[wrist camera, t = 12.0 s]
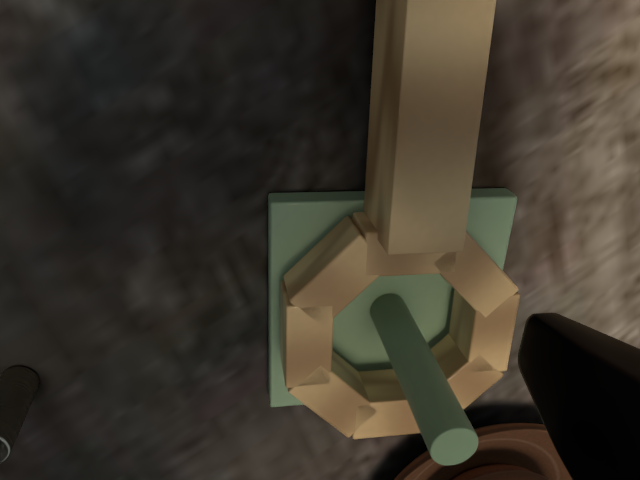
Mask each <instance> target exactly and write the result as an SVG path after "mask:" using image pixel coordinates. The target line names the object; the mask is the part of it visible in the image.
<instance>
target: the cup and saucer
mask: <svg viewBox="0 0 640 480" xmlns="http://www.w3.org/2000/svg"><path fill="white" fill-rule="evenodd" d="M474 430H475V432H476V434H477V436H478V447H477V449H476V451H475V453H474V454H473V455H472V456H471V457H470V458H469V459H467V460H466V461H464V462H462V463H459V464H456V465H449V466H447V465H441V464H438V463H437V462H435V461H434V460H433V459H432V458H431V456H430V453H429V451H428V450H427V451H425V452H424V453H422V454H421V455H420V456H418V457H417V458H416V459H414V460H413V461H412V462H411V463H410V464H408V465H407V466H406V467H405V468H404V469H403V470H402V471H401V472H400V473H399V474H398V475H397V477H396V478H395V479H394V480H572V478H571V476H570V475H569V473H568V471H567V469H566V468H565V466H564V464H563V462H562V460H561V459H560V457H559V455H558V453H557V451H556V449H555V447H554V445H553V443H552V441H551V439H550V437H549V434H548V432H547V430H546V428H545V425H543V424H535V423H504V424H496V425H489V426H484V427H480V428H476V429H474Z"/></svg>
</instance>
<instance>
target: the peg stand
mask: <svg viewBox="0 0 640 480" xmlns="http://www.w3.org/2000/svg"><path fill="white" fill-rule="evenodd" d="M364 199H365V191H343V192H296V193H270V194H269V195H268V392H269V400H270V406H271V407H280V406H292V405H304V404H303V403H302V402H301V401H299V400H298V399H297V398H295V397H294V396H293V395H291V394H290V393H289V392H288V388H286V386H285V381H284V375H283V369H282V363H281V357H280V282H281V281H284V275H285V274H286V273H287V272H288V271H289V270H290V269H291V268H292V267H293V266H294V265H295V264H296V263H297V262H298V261H300V260H301V259H302V258H303V257H304V256H305V255H306V254H307V253H308V252H309V251H310V250H311V249H312V248H313V247H314V246H315V245H316V244H317V243H318V242H320V241H321V240H322V239H323V238H324V237H325V236H326V235H327V234H328V233H329V232H330V231H331V230H332V229H333V228H334V227H335V226H336V225H337V224H339V223H340V222H341V221H342V220H343V219H344V218H345V217H346V216H350V217H351V218H352V216H353V213H355V212H364ZM516 203H517V196H516V195H514V194H513V193H512V192H510V191H509V190H508V189H506V188H483V189H471V196H470V203H469V211H468V219H467V226H466V231H467V232H468V233H469V234H470V235H471V237H472V238H473V239H474V240H475V241H476V242H477V243H478V244H479V245H480V246H481V248H482V249H483V250H484V251H485V252H486V253H487V254H488V255H489V256H490V257H491V259H492V260H493V261H494V262H495V263H496V264H497V265H498V266H499V267H500V268H501V270H502V271H503V267H504V262H505V257H506V252H507V247H508V242H509V237H510V233H511V228H512V223H513V218H514V213H515V208H516ZM453 297H454V288H453V287H452V286H451V285H450V284H449V283H448V282H447V281H446V280H445V279H444V278H443V277H442V276H441V275H440V274H420V275H398V276H379V277H378V278H377V279H376V280H375V281H373V282H372V283H371V284H370V285H369V286H368V287H367V288H366V289H365V290H364V291H363V292H361V293H360V294H359V295H358V296H357V297H356V298H355V299H354V300H353V301H352V302H351V303H349V304H348V305H347V306H346V307H345V308H344V309H343V310H342V311H341V312H340V313H339V314H337V315H336V316H335V317H334V321H333V345H332V350H333V351H334V352H335V353H336V354H338V355H339V356H340V357H341V358H342V359H344V360H345V361H346V362H347V363H348V364H350V365H351V366H352V367H353V368H354V369H356V370H357V371H358V372H359V371H372V370H386V369H394V372H395V374H396V376H397V379H398V381H399V383H400V386H401V388H402V390H403V393H404V395H405V397H406V400H407V402H408V404H409V407H410V409H411V411H412V414H413V416H414V418H415V421H416V423H417V425H418V428H419V430H420V432H421V435H422V437H423V439H424V442H425V444H426V446H427V449H428V451H429V453H430V456H431V458H432V459H433V460H434V461H435V462H437V463H438V464H441V465H447V466H449V465H456V464H459V463H462V462H464V461H466V460H467V459H469V458H470V457H471V456H472V455H473V454H474V453H475V451H476V449H477V447H478V436H477V434H476V432H475V430H474V428H473V427H472V425H471V423H470V421H469V419H468V417H467V416H466V414H465V412H464V410H463V408H462V406H461V405H460V403H459V401H458V399H457V397H456V395H455V394H454V392H453V390H452V388H451V386H450V384H449V383H448V381H447V379H446V377H445V375H444V373H443V372H442V370H441V368H440V366H439V364H438V362H437V360H436V359H435V357H434V355H433V353H432V351H431V348H433V347H434V346H435V345H436V344H437V343H438V342H439V341H441V340H442V339H443V338H444V337H445V336H446V335H447V334H449V328H450V320H451V313H452V305H453Z"/></svg>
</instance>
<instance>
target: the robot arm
mask: <svg viewBox="0 0 640 480" xmlns="http://www.w3.org/2000/svg"><path fill="white" fill-rule="evenodd" d="M518 365H519V369H520V372H521V374H522V376H523V378H524V381H525V383H526V385H527V387H528V390H529V392H530V394H531V396H532V399H533V401H534V403H535V405H536V408H537V410H538V412H539V414H540V417H541V419H542V421H543V423H544V425H545V428H546V430H547V432H548V434H549V437H550V439H551V441H552V443H553V445H554V447H555V449H556V451H557V453H558V455H559V457H560V459H561V460H562V462H563V464H564V466H565V468H566V469H567V471H568V473H569V475H570V476H571V478H572V480H640V349H638V348H636V347H634V346H631V345H629V344H627V343H624V342H622V341H620V340H617V339H615V338H613V337H610V336H608V335H606V334H603V333H601V332H599V331H597V330H594V329H592V328H590V327H587V326H585V325H583V324H580V323H578V322H576V321H573V320H571V319H569V318H566V317H564V316H562V315H559V314H557V313H538V314H532V315H531V316H529V317H528V319H527V321H526V324H525V328H524V333H523V337H522V341H521V345H520V349H519V353H518Z"/></svg>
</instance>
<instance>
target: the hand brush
mask: <svg viewBox="0 0 640 480" xmlns="http://www.w3.org/2000/svg"><path fill="white" fill-rule="evenodd" d="M495 6H496V0H376V13H375V30H374V47H373V64H372V81H371V97H370V114H369V131H368V148H367V165H366V182H365V199H364V212H355V213H353V216H352V218H351V217H350V216H346V217H345V218H344V219H343V220H342V221H341V222H340V223H339V224H337V225H336V226H335V227H334V228H333V229H332V230H331V231H330V232H329V233H328V234H327V235H326V236H325V237H324V238H323V239H322V240H321V241H320V242H318V243H317V244H316V245H315V246H314V247H313V248H312V249H311V250H310V251H309V252H308V253H307V254H306V255H305V256H304V257H303V258H302V259H301V260H300V261H298V262H297V263H296V264H295V265H294V266H293V267H292V268H291V269H290V270H289V271H288V272H287V273H286V274H285V275H284V281H281V282H280V357H281V363H282V369H283V375H284V381H285V386H286V388H288V392H289V393H290V394H291V395H293V396H294V397H295V398H297V399H298V400H299V401H301V402H302V403H303V404H305V405H306V406H307V407H308V408H310V409H311V410H312V411H314V412H315V413H316V414H318V415H319V416H320V417H322V418H323V419H324V420H326V421H327V422H328V423H330V424H331V425H332V426H333V427H335V428H336V429H337V430H339V431H340V432H341V433H343V434H344V435H345V436H347V437H350V436H351V435H352V437H353V439H361V438H372V437H383V436H393V435H404V434H415V433H421V432H420V430H419V428H418V425H417V423H416V421H415V418H414V416H413V414H412V411H411V409H410V407H409V404H408V402H407V400H406V397H405V395H404V393H403V390H402V388H401V386H400V383H399V381H398V379H397V376H396V374H395V372H394V369H386V370H372V371H359V372H358V371H357V370H356V369H354V368H353V367H352V366H351V365H350V364H348V363H347V362H346V361H345V360H344V359H342V358H341V357H340V356H339V355H338V354H336V353H335V352H334V351H333V350H332V345H333V321H334V317H335V316H336V315H337V314H339V313H340V312H341V311H342V310H343V309H344V308H345V307H346V306H347V305H348V304H349V303H351V302H352V301H353V300H354V299H355V298H356V297H357V296H358V295H359V294H360V293H361V292H363V291H364V290H365V289H366V288H367V287H368V286H369V285H370V284H371V283H372V282H373V281H375V280H376V279H377V278H378V277H379V276H398V275H420V274H440V275H441V276H442V277H443V278H444V279H445V280H446V281H447V282H448V283H449V284H450V285H451V286H452V287H453V288H454V297H453V305H452V313H451V320H450V328H449V334H447V335H446V336H445V337H444V338H443V339H442V340H441V341H439V342H438V343H437V344H436V345H435V346H434V347H433V348H431V351H432V353H433V355H434V357H435V359H436V360H437V362H438V364H439V366H440V368H441V370H442V372H443V373H444V375H445V377H446V379H447V381H448V383H449V384H450V386H451V388H452V390H453V392H454V394H455V395H456V397H457V399H458V401H459V403H460V405H461V406H462V408H463V410H464V409H465V408H466V407H467V406H468V405H470V404H471V403H472V402H473V401H474V400H475V399H477V398H478V397H479V396H480V395H481V394H483V393H484V392H485V391H486V390H487V389H489V388H490V387H491V386H492V385H493V384H494V383H496V382H497V381H498V380H499V379H500V378H502V377H503V373H502V372H501V371H506V370H507V366H508V360H509V355H510V349H511V344H512V338H513V332H514V327H515V321H516V315H517V310H518V304H519V299H520V294H519V293H518V292H517V291H518V287H517V286H516V285H515V284H514V283H513V282H512V280H511V279H510V278H509V277H508V276H507V275H506V274H505V273H504V272H503V271H502V270H501V268H500V267H499V266H498V265H497V264H496V263H495V262H494V261H493V260H492V259H491V257H490V256H489V255H488V254H487V253H486V252H485V251H484V250H483V249H482V248H481V246H480V245H479V244H478V243H477V242H476V241H475V240H474V239H473V238H472V237H471V235H470V234H469V233H468V232H467V231H466V226H467V219H468V211H469V203H470V196H471V188H472V181H473V173H474V165H475V158H476V150H477V143H478V135H479V127H480V120H481V112H482V105H483V97H484V89H485V82H486V74H487V67H488V59H489V52H490V44H491V36H492V29H493V21H494V14H495Z"/></svg>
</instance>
